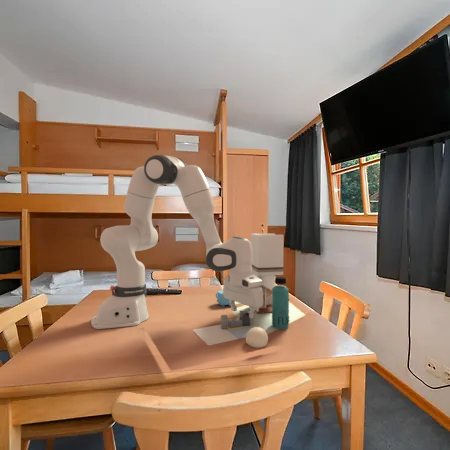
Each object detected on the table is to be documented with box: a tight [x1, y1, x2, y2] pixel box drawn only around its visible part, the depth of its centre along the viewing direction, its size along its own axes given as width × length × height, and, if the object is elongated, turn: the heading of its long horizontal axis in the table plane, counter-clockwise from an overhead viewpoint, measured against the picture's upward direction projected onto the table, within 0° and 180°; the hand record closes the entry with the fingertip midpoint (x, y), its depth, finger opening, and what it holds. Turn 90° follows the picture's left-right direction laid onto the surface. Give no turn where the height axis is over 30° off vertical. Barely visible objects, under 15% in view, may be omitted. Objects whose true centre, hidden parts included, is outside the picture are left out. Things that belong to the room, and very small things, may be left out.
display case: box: [250, 233, 285, 315], centre depth 129 cm, size 11×11×35 cm
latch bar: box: [227, 309, 253, 328], centre depth 110 cm, size 9×3×5 cm, turn 113°
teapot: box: [215, 289, 231, 308], centre depth 141 cm, size 12×6×8 cm, turn 103°
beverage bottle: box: [271, 276, 290, 330], centre depth 110 cm, size 6×7×20 cm
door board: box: [192, 314, 255, 346], centre depth 104 cm, size 22×14×6 cm, turn 117°
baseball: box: [245, 326, 269, 349], centre depth 94 cm, size 7×7×7 cm
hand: (242, 313), depth 113 cm, fingers open, 8 cm apart
